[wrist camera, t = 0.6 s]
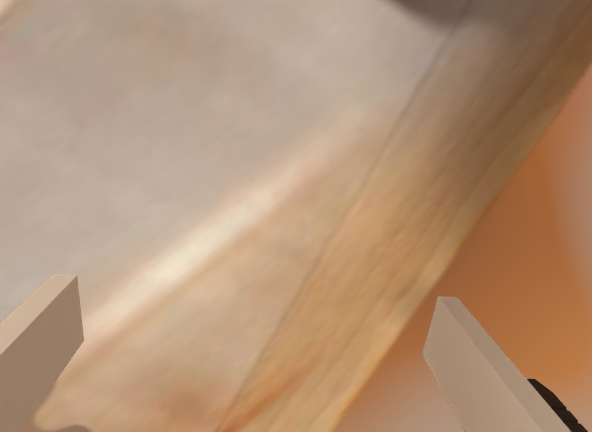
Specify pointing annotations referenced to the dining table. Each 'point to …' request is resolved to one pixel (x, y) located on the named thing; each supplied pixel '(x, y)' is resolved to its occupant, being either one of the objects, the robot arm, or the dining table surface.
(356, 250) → the dining table surface
